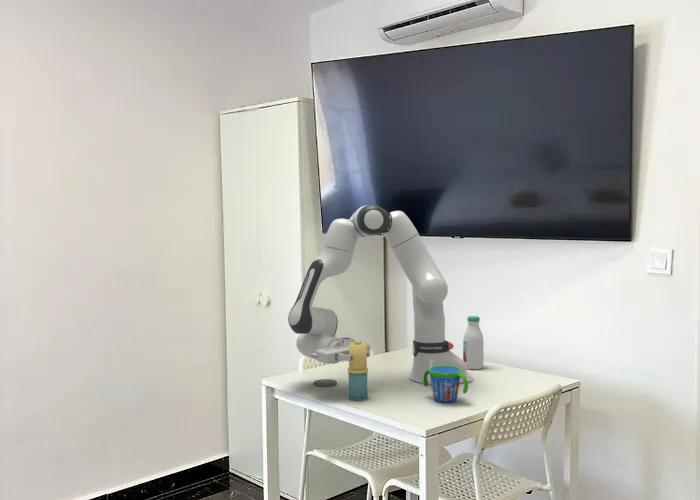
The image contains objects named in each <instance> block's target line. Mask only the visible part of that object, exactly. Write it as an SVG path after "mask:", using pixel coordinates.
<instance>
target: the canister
mask: <svg viewBox="0 0 700 500" xmlns="http://www.w3.org/2000/svg"><path fill="white" fill-rule="evenodd" d="M347 398H348V400H349V401H355V402H360V401H361V402H363V401H367V400H368V399H369V395H368V372H366V373H361V374H354V373H349V372H348V396H347Z"/></svg>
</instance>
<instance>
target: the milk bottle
mask: <svg viewBox="0 0 700 500" xmlns="http://www.w3.org/2000/svg"><path fill="white" fill-rule="evenodd" d="M480 319H481V318H480V317H479V316H478V315H469V316H467V319H466V320H467V327H466V329H465V332H464V334H463V339H462V341H463V342H462V343H463V345H462V346H463V347H462V351H463V352H462V355H463V356H462V361H463V362H464V364H465V367H466V370H471V369H473V370H472V371H477V370H482V369H483V368H484V335H483V333H482V331H481V327H480V321H481V320H480ZM474 369H475V370H474Z"/></svg>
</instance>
